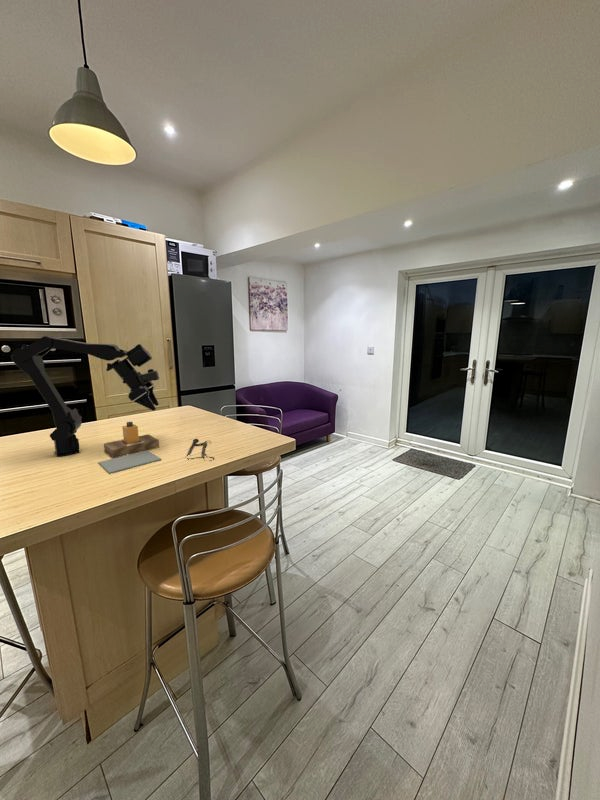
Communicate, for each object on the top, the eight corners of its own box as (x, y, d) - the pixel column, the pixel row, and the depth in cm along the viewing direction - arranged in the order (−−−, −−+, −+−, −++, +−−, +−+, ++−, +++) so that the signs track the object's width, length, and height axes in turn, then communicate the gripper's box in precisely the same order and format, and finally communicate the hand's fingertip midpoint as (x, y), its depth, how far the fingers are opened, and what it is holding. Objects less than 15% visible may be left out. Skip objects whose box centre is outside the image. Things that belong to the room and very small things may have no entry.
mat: (109, 474, 99) (109, 472, 99) (98, 463, 107) (98, 462, 107) (161, 460, 110) (161, 458, 110) (147, 451, 118) (147, 450, 118)
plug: (128, 451, 118) (125, 424, 116) (124, 449, 121) (121, 422, 119) (139, 449, 121) (137, 422, 119) (136, 446, 124) (133, 420, 122)
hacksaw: (193, 441, 131) (193, 438, 131) (219, 440, 133) (219, 436, 132) (182, 464, 108) (182, 459, 107) (214, 462, 109) (213, 457, 109)
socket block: (113, 458, 112) (112, 449, 111) (104, 451, 119) (103, 442, 118) (159, 447, 123) (158, 438, 123) (148, 441, 130) (148, 433, 130)
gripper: (143, 363, 111) (172, 399, 116) (151, 360, 129) (176, 391, 133) (114, 382, 109) (145, 417, 114) (126, 376, 127) (152, 407, 132)
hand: (156, 407), depth 124 cm, fingers open, 9 cm apart
